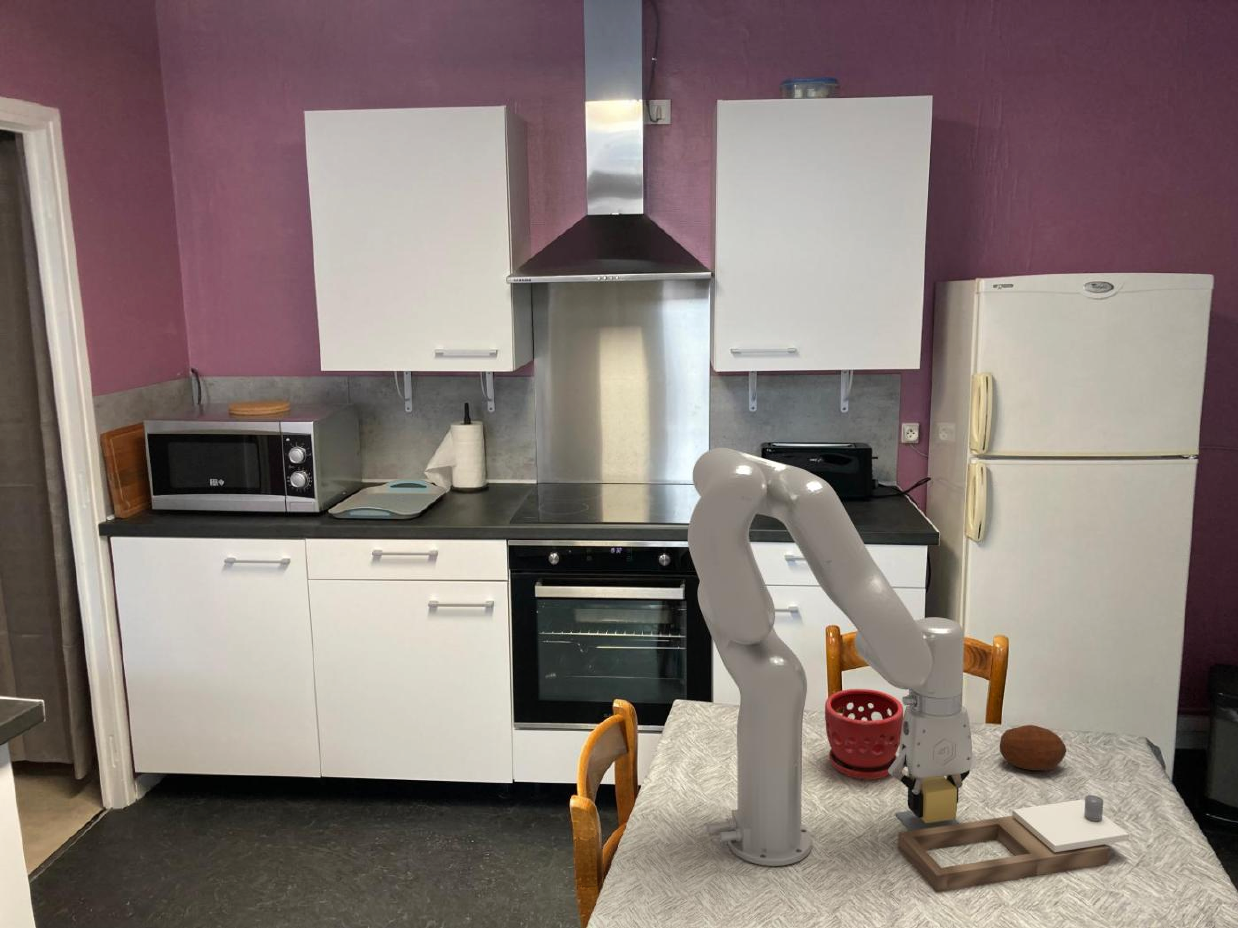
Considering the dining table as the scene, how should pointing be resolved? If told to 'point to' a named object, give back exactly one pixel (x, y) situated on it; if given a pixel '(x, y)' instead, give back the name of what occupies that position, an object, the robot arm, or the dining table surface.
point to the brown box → (1013, 835)
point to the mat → (920, 821)
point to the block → (938, 800)
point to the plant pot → (863, 732)
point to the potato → (1032, 748)
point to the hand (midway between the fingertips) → (932, 809)
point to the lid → (1071, 824)
